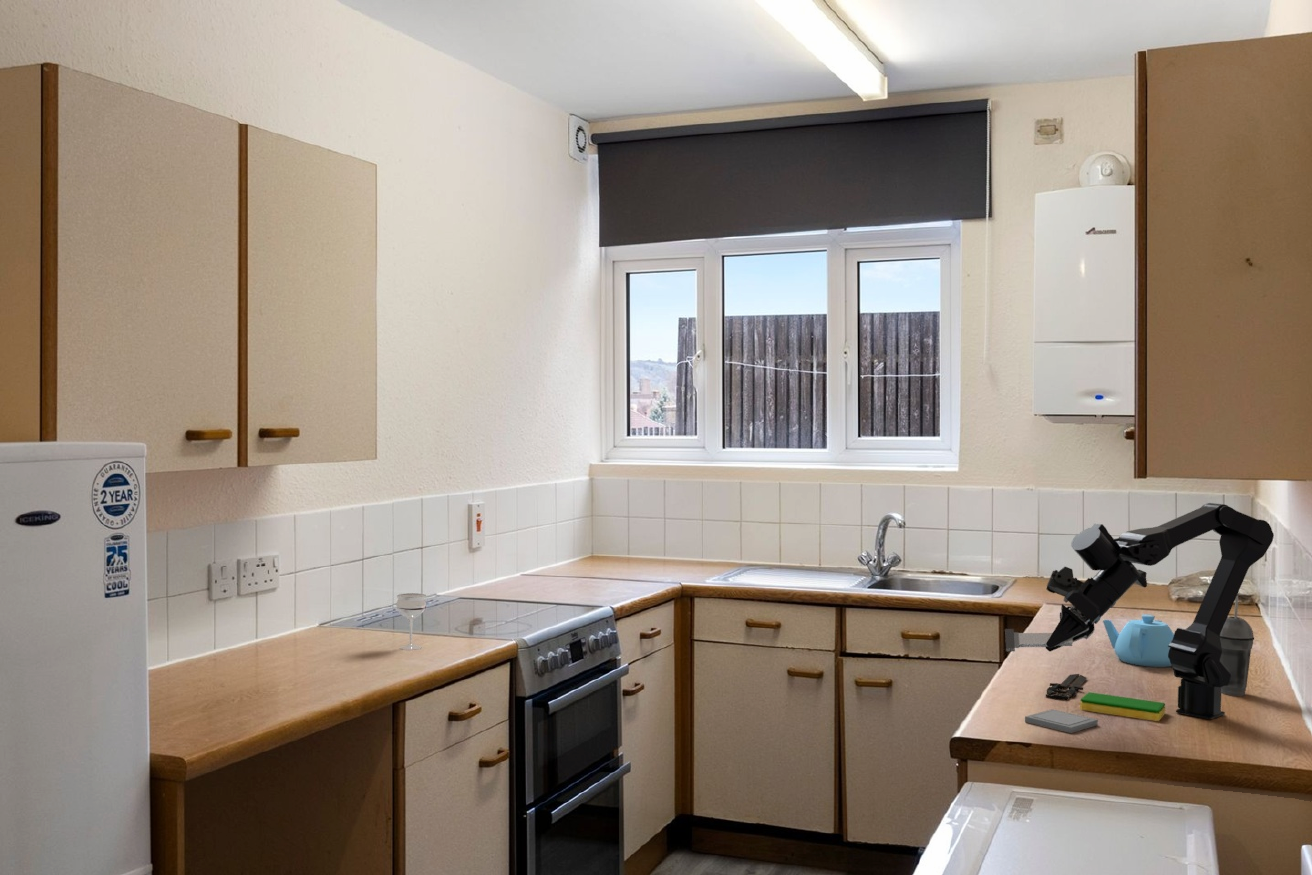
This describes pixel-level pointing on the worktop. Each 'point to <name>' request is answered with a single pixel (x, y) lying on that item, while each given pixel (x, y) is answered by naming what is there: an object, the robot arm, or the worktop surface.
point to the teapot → (1142, 641)
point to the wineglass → (411, 611)
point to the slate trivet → (1061, 721)
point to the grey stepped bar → (1029, 640)
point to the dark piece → (1072, 688)
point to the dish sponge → (1123, 706)
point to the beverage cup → (1236, 652)
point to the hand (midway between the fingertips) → (1047, 647)
